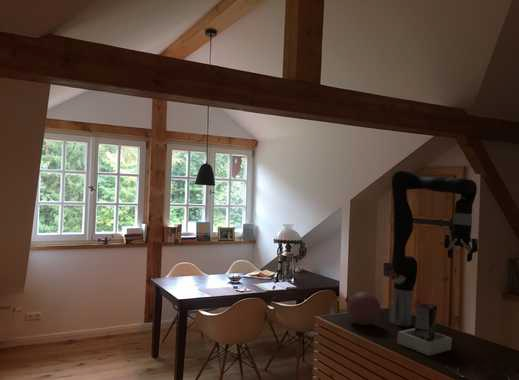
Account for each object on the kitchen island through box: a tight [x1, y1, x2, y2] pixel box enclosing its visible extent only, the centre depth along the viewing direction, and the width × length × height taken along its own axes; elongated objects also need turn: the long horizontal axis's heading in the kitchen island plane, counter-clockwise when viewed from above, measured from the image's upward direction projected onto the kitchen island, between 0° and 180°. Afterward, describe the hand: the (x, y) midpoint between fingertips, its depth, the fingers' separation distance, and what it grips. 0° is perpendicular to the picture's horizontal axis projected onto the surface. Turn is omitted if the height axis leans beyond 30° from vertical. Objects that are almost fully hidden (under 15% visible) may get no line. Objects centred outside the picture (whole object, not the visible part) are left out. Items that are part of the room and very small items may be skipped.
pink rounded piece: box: [344, 291, 382, 326], centre depth 212 cm, size 15×20×15 cm
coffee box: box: [414, 302, 438, 341], centre depth 186 cm, size 9×6×16 cm
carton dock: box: [396, 327, 453, 357], centre depth 186 cm, size 15×16×5 cm
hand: (459, 259), depth 197 cm, fingers open, 8 cm apart
